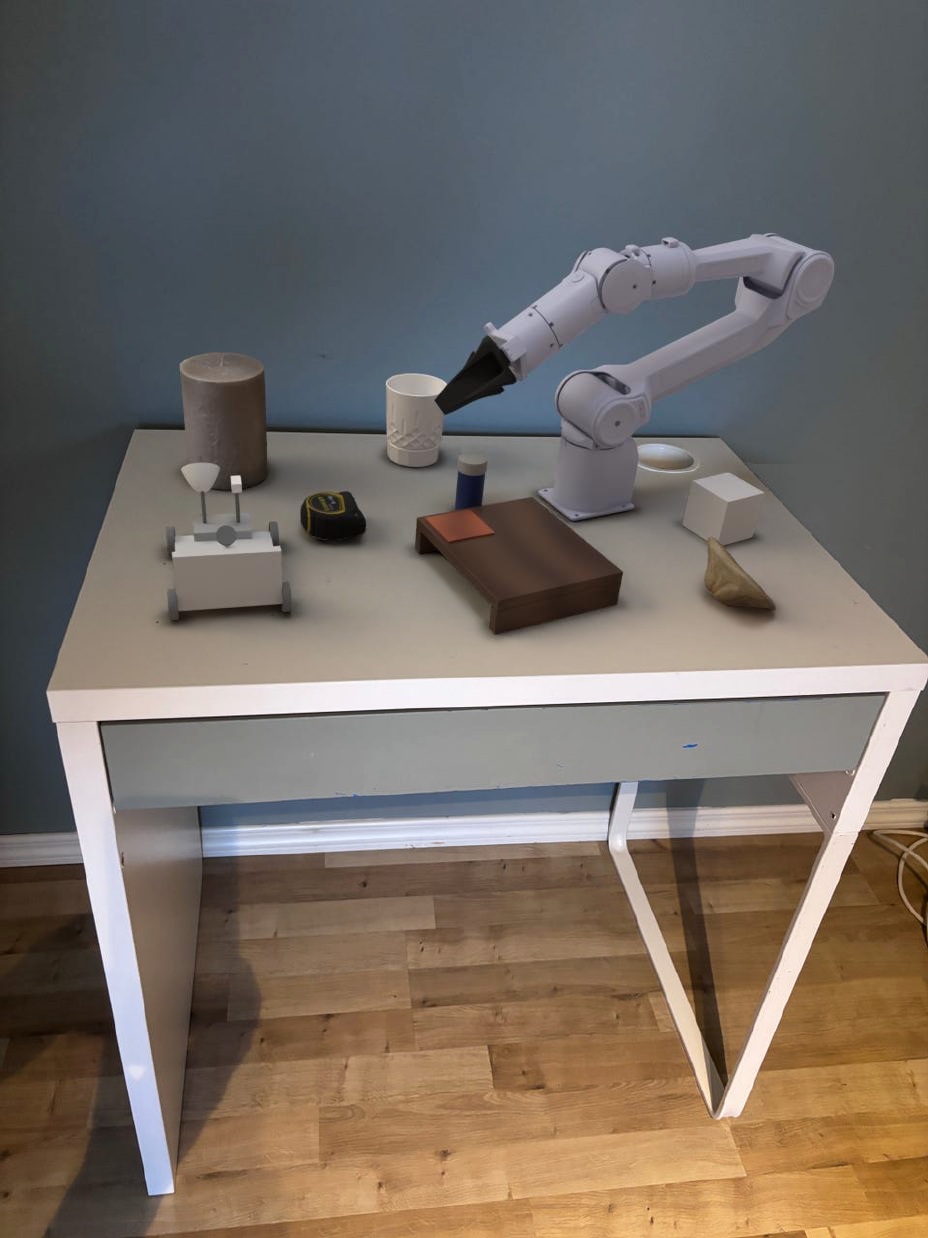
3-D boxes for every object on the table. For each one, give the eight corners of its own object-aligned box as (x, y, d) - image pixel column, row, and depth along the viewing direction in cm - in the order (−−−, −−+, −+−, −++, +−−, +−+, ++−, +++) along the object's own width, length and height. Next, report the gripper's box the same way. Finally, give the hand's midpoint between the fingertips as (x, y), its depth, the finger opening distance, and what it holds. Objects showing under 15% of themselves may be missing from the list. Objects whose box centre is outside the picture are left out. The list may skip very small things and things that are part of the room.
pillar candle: (272, 458, 126) (269, 343, 118) (262, 493, 118) (258, 372, 110) (195, 454, 126) (186, 338, 117) (180, 488, 118) (169, 366, 109)
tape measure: (367, 544, 110) (368, 514, 108) (306, 549, 108) (306, 519, 106) (353, 515, 115) (354, 486, 113) (295, 519, 113) (295, 490, 111)
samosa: (764, 585, 98) (702, 522, 104) (731, 614, 99) (671, 551, 104) (786, 612, 105) (727, 552, 111) (755, 639, 106) (698, 579, 112)
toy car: (159, 452, 103) (272, 448, 106) (168, 534, 108) (274, 529, 111) (160, 536, 89) (290, 529, 91) (169, 626, 94) (292, 617, 97)
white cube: (682, 525, 120) (692, 480, 117) (717, 515, 123) (728, 472, 120) (716, 547, 116) (728, 501, 113) (752, 537, 119) (764, 492, 116)
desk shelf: (528, 526, 117) (532, 494, 114) (617, 604, 104) (624, 570, 101) (414, 548, 110) (416, 515, 108) (494, 634, 97) (498, 598, 95)
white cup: (389, 441, 134) (392, 370, 128) (447, 448, 133) (452, 377, 128) (377, 465, 127) (380, 391, 122) (437, 473, 127) (442, 399, 121)
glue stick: (473, 506, 120) (478, 449, 115) (486, 519, 117) (492, 461, 113) (448, 511, 118) (453, 453, 114) (461, 524, 116) (467, 465, 112)
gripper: (510, 311, 113) (416, 381, 113) (534, 283, 99) (426, 363, 99) (545, 362, 115) (452, 432, 114) (574, 341, 100) (468, 421, 100)
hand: (442, 403), depth 107 cm, fingers open, 7 cm apart
